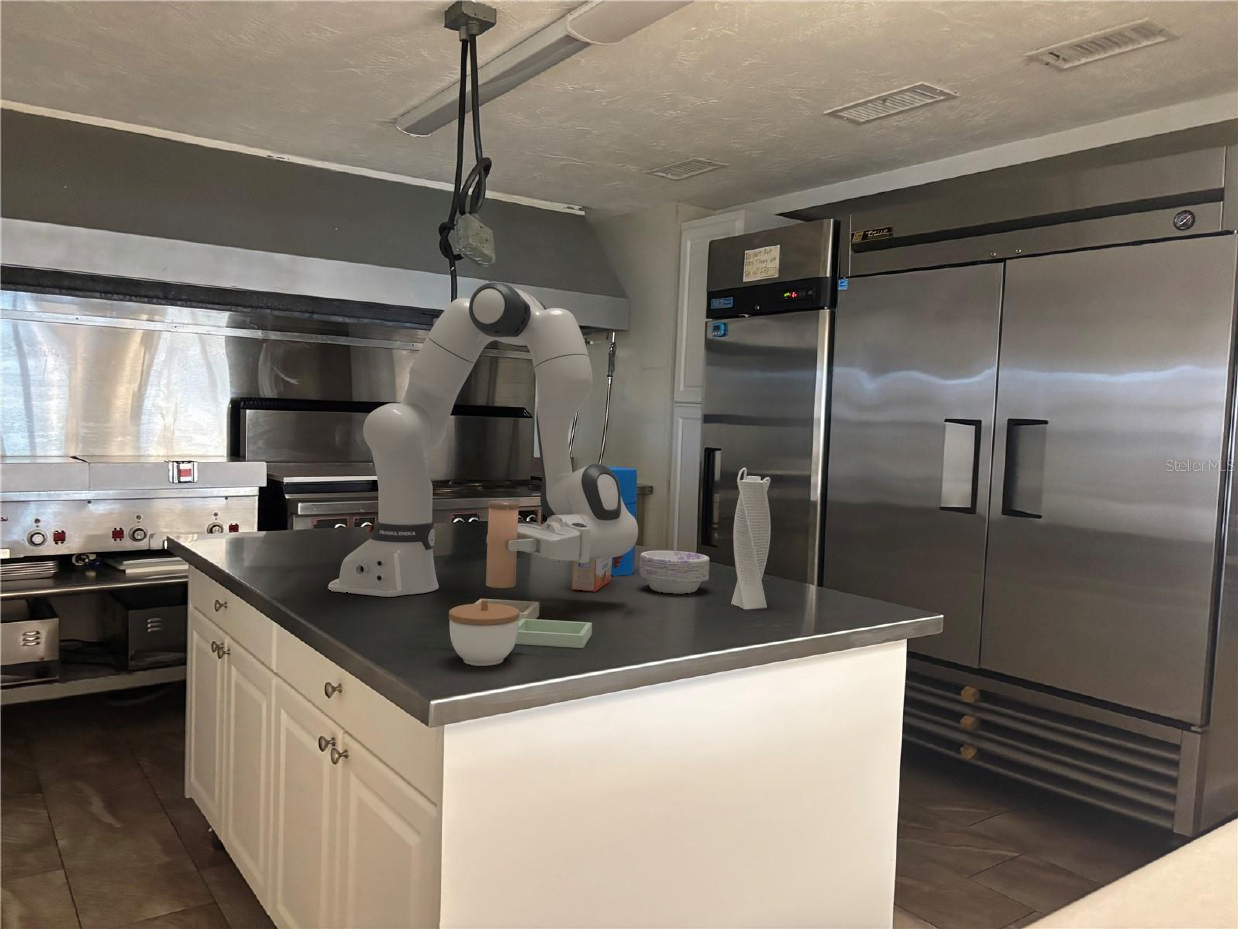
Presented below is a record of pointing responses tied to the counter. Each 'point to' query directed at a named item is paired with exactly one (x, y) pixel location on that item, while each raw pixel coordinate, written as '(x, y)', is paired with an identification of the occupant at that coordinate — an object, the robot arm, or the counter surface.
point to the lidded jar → (483, 632)
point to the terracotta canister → (501, 544)
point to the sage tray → (553, 633)
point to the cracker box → (591, 574)
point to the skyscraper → (751, 541)
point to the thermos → (629, 495)
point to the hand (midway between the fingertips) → (497, 542)
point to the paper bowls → (674, 570)
